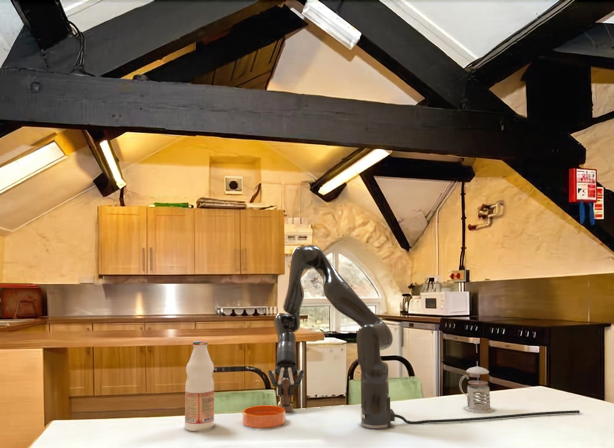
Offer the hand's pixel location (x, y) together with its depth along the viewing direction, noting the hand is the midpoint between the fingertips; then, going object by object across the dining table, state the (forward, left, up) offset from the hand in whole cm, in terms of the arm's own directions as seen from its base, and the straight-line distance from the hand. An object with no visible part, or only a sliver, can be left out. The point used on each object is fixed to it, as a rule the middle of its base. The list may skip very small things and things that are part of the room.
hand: (285, 395), depth 189 cm
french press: (-70, -4, -7) cm, 71 cm away
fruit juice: (+28, +15, -7) cm, 32 cm away
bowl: (+7, +12, -7) cm, 15 cm away
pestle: (0, -2, -7) cm, 7 cm away
